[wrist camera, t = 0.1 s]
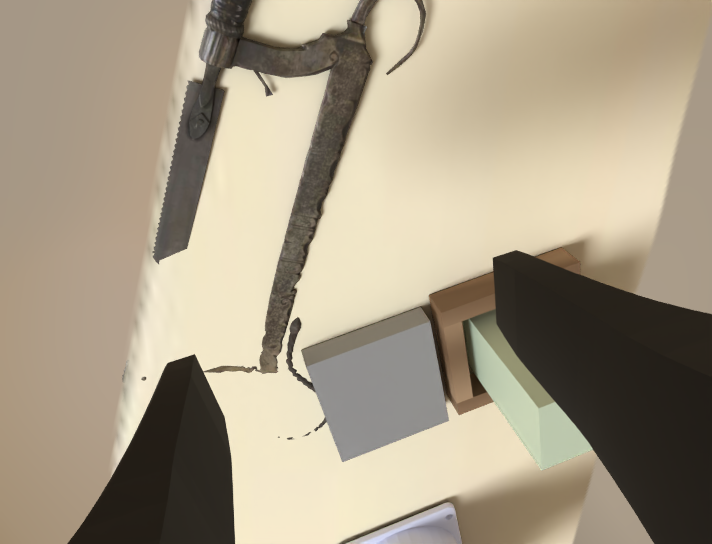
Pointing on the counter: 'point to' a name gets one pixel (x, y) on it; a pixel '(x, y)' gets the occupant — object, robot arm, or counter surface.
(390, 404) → the rack plate
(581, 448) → the peg
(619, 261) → the counter surface
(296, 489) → the counter surface
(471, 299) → the socket block
